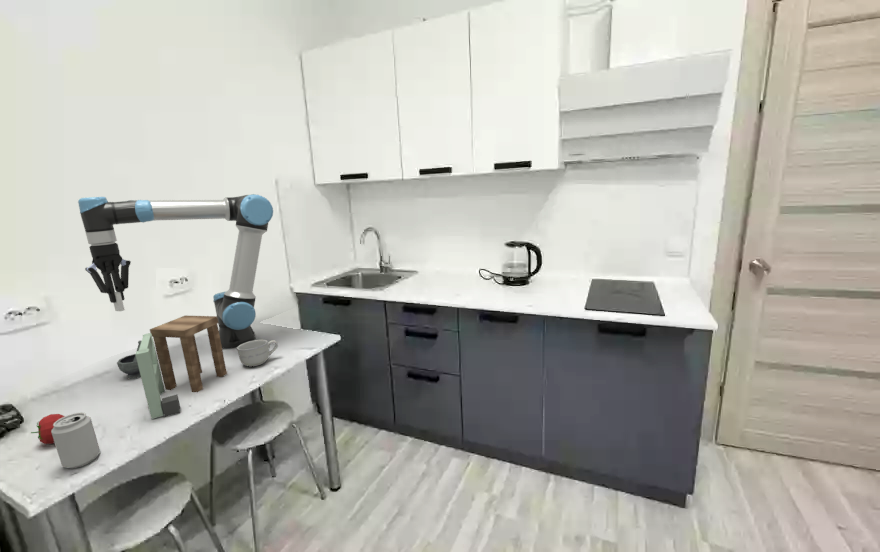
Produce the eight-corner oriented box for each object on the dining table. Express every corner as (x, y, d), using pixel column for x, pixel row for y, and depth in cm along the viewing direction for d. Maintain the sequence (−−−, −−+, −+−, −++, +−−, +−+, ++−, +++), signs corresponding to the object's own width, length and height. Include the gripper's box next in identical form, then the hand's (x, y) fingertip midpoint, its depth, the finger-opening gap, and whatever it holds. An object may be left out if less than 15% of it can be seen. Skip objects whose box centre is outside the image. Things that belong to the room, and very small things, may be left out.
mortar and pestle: (136, 381, 147) (128, 350, 145) (115, 381, 149) (106, 350, 146) (162, 367, 158) (155, 338, 155) (141, 367, 160) (134, 338, 157)
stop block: (165, 411, 126) (162, 398, 125) (180, 407, 128) (177, 394, 127) (164, 417, 122) (161, 403, 121) (180, 412, 124) (177, 399, 123)
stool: (196, 371, 153) (184, 315, 148) (228, 373, 149) (217, 316, 144) (163, 390, 140) (149, 329, 135) (197, 393, 136) (184, 330, 131)
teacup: (237, 371, 151) (234, 351, 149) (243, 359, 161) (239, 340, 159) (278, 365, 154) (274, 345, 152) (280, 354, 164) (277, 335, 162)
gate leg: (155, 392, 138) (141, 334, 133) (166, 389, 139) (152, 332, 135) (151, 419, 121) (135, 354, 117) (163, 415, 123) (148, 351, 118)
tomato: (68, 405, 116) (30, 413, 110) (72, 429, 112) (33, 438, 106) (65, 420, 119) (28, 429, 113) (69, 444, 116) (31, 454, 110)
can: (103, 458, 105) (91, 416, 102) (65, 475, 99) (51, 431, 97) (97, 447, 110) (86, 407, 107) (60, 462, 104) (47, 420, 102)
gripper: (118, 240, 145) (133, 304, 151) (74, 246, 134) (92, 315, 139) (130, 240, 142) (146, 305, 147) (86, 247, 131) (105, 317, 136)
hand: (120, 310), depth 143 cm, fingers closed
